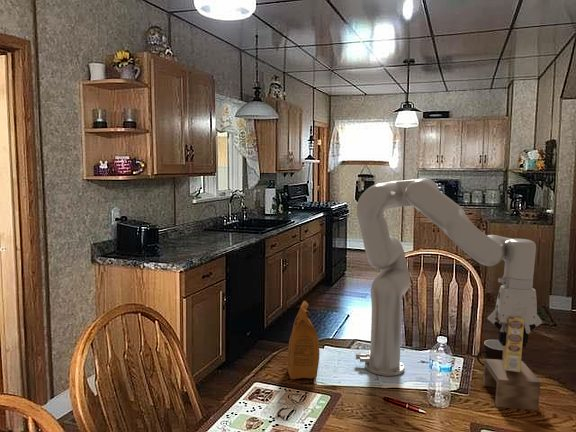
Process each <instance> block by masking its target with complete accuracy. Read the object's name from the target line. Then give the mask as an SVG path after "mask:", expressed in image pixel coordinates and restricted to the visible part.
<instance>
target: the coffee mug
mask: <svg viewBox="0 0 576 432" xmlns="http://www.w3.org/2000/svg"><path fill="white" fill-rule="evenodd" d="M483 348H484V350H481V351H479V352H478V353H477V355H476V359H477V362H478V363H479V364H480V365H481V366H483V367H484V363H483V362H482V361H481V360H480V356H481V355H482V354H483V353H484V360H485V359H498V360H503V346H502V344H501V343H500V342H499V340H498V339H487V340H485V341H484V342H483Z"/></svg>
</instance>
